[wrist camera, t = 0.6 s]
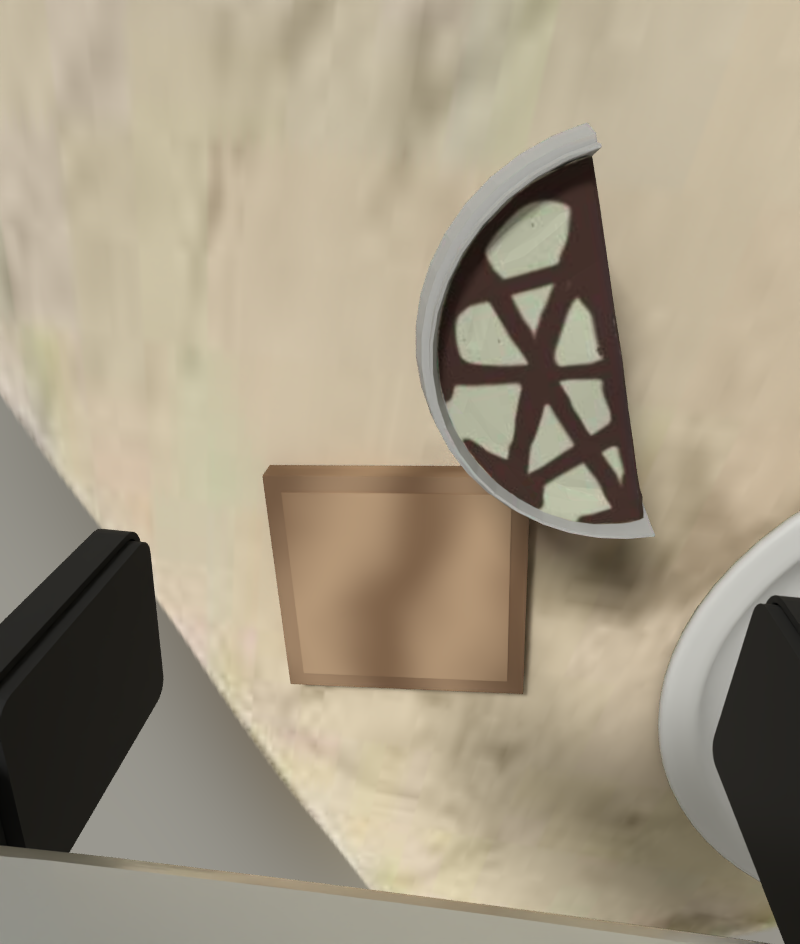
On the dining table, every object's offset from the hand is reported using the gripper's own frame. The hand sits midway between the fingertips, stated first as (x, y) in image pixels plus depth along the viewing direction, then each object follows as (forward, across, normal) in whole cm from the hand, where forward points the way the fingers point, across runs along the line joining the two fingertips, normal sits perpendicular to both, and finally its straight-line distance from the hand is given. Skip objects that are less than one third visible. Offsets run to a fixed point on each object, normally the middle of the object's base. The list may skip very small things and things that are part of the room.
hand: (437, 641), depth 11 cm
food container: (+21, -2, -1) cm, 21 cm away
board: (+21, +2, +12) cm, 24 cm away
